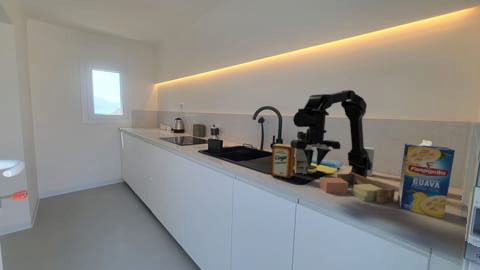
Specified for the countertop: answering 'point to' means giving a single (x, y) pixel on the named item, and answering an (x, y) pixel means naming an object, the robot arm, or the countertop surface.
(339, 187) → the reddish brown block
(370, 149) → the skincare box
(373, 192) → the pale green block
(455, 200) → the countertop surface
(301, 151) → the grey drink carton
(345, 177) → the bookend
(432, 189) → the beverage box
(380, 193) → the shelf wall
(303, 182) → the countertop surface
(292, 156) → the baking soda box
